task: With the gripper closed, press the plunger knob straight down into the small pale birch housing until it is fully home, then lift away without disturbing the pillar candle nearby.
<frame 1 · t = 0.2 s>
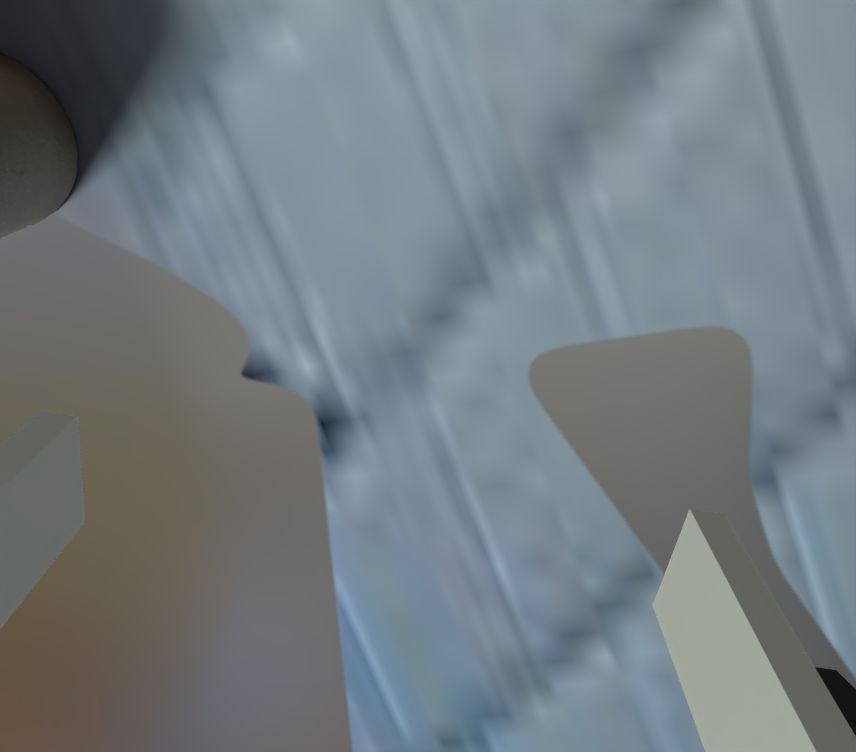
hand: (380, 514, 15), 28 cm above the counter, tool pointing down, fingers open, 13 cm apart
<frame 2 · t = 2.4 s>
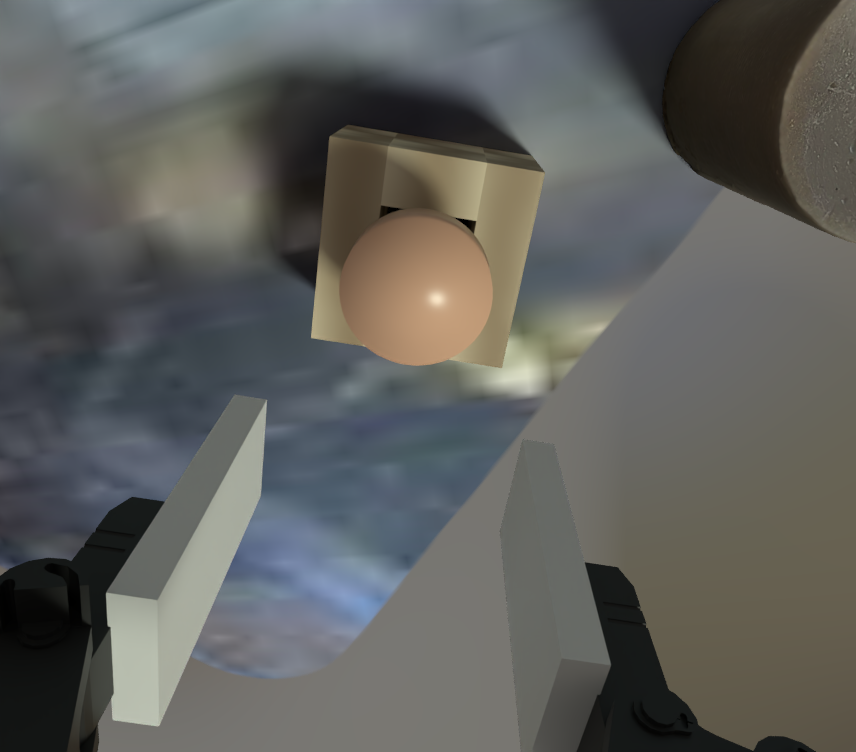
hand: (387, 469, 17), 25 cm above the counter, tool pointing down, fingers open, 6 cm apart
pillar candle: (758, 89, 36), on the counter
knob: (419, 269, 32), point 8 cm above the counter, slide at 0.0 cm
housing: (426, 231, 39), on the counter
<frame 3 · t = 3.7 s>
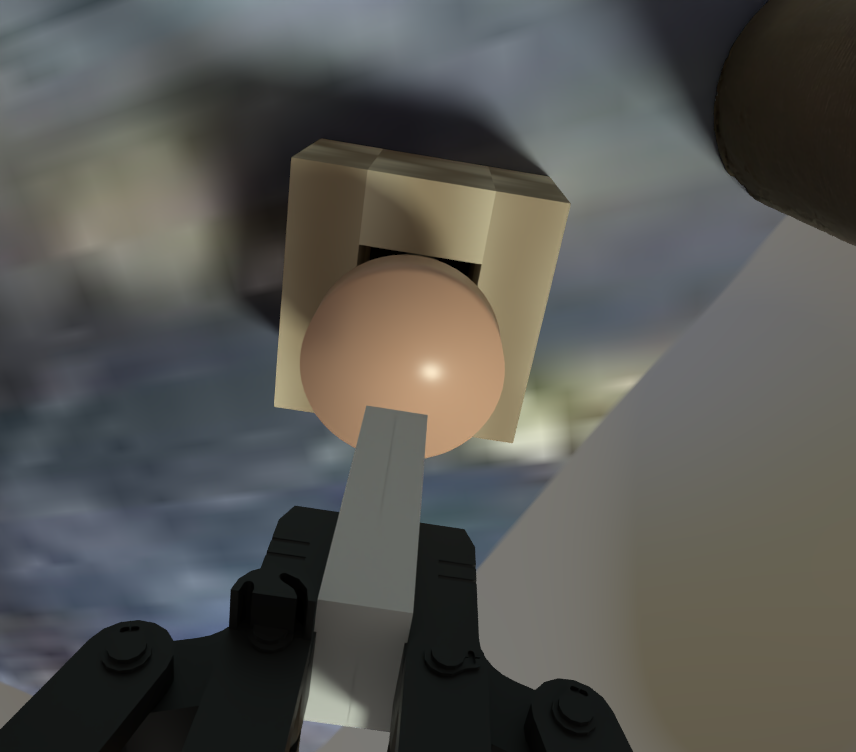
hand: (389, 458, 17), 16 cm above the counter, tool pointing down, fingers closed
pillar candle: (833, 94, 29), on the counter
knob: (408, 328, 25), point 8 cm above the counter, slide at 0.0 cm
housing: (418, 268, 32), on the counter
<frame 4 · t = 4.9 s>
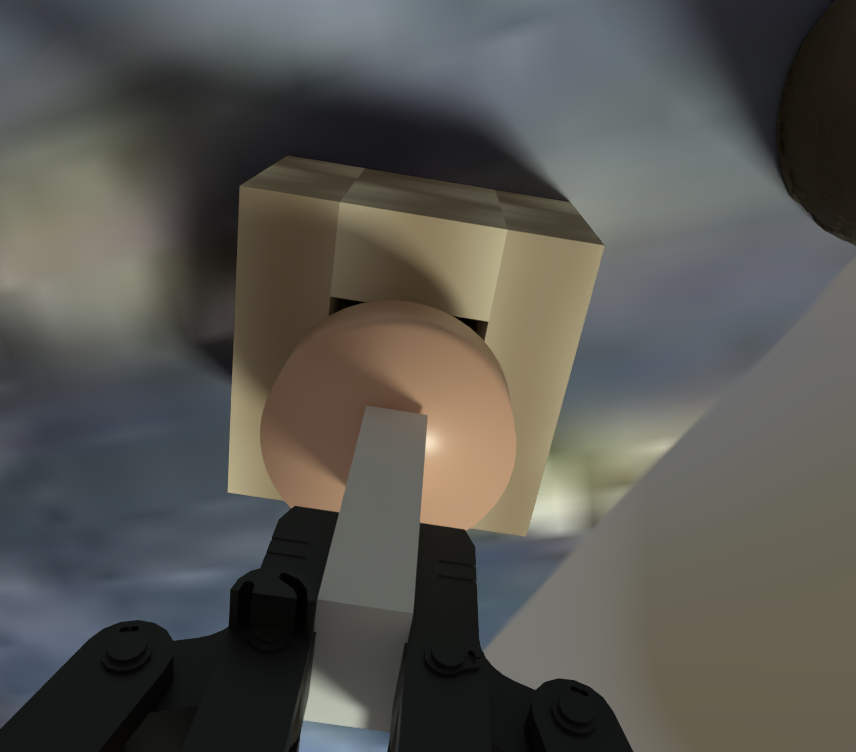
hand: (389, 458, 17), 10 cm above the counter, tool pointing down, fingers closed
knob: (398, 383, 21), point 6 cm above the counter, slide at 1.6 cm, touching gripper
housing: (409, 312, 26), on the counter
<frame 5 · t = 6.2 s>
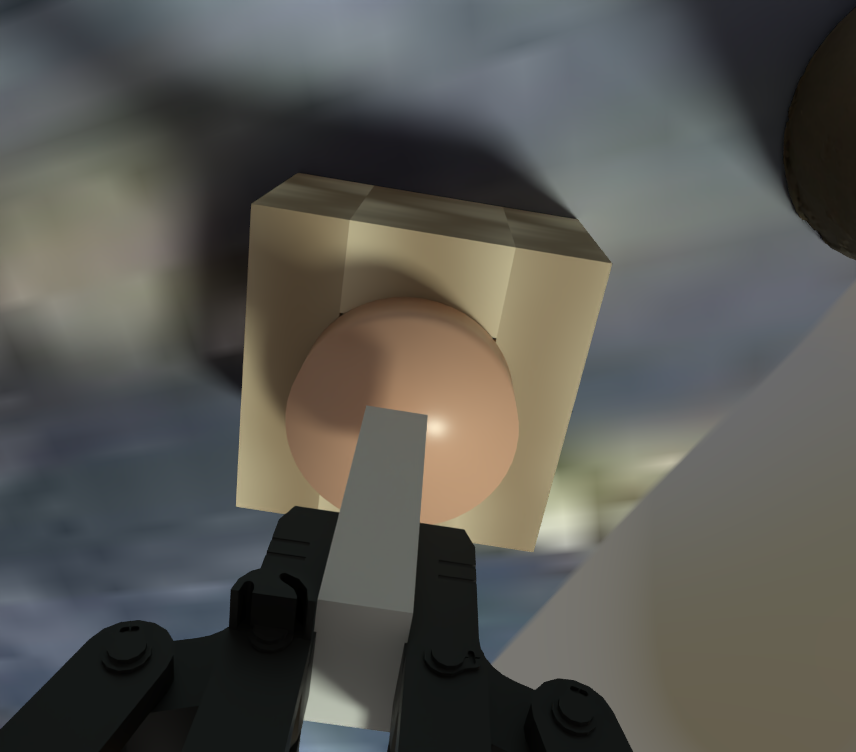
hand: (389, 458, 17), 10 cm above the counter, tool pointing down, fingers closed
knob: (410, 375, 22), point 4 cm above the counter, slide at 3.3 cm
housing: (417, 327, 26), on the counter
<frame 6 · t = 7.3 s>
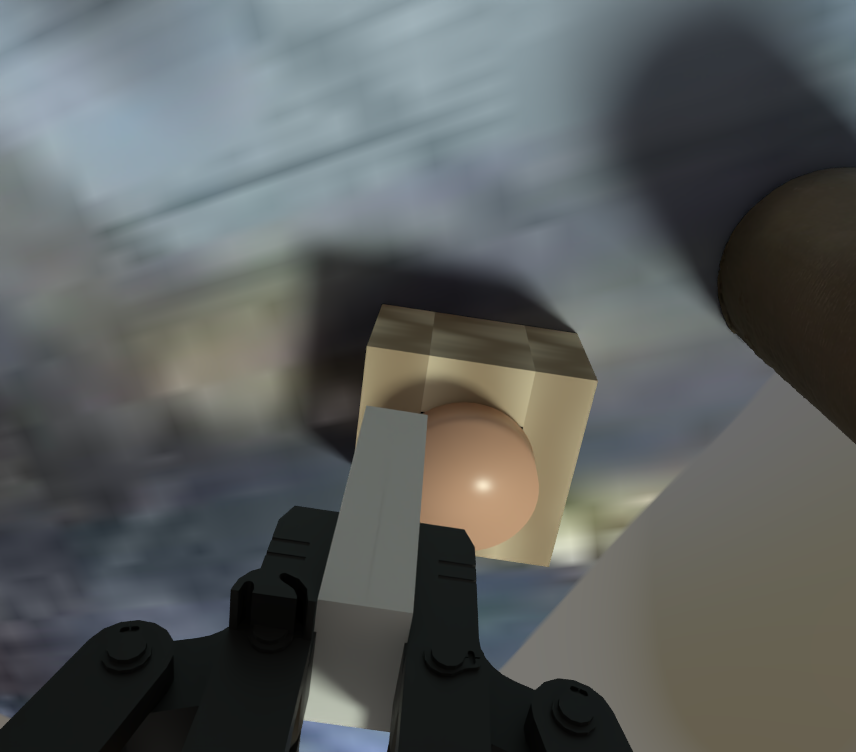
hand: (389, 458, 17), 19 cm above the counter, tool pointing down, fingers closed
pillar candle: (820, 268, 33), on the counter
knob: (463, 447, 33), point 4 cm above the counter, slide at 3.3 cm
housing: (463, 406, 37), on the counter
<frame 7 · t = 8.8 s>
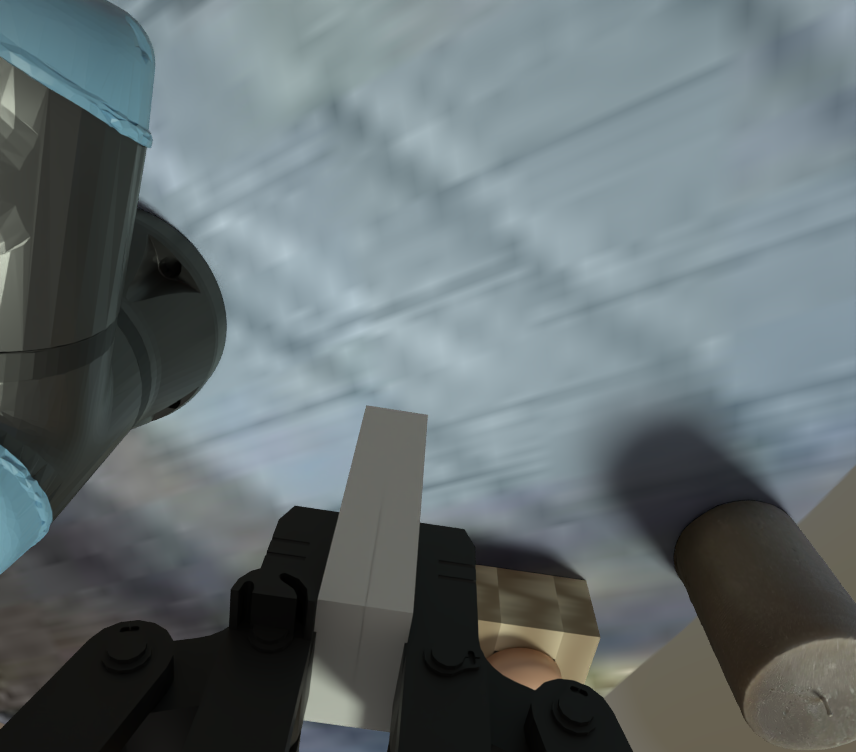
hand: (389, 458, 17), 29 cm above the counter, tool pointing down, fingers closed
pillar candle: (737, 548, 54), on the counter
knob: (516, 660, 54), point 4 cm above the counter, slide at 3.3 cm
housing: (512, 618, 58), on the counter
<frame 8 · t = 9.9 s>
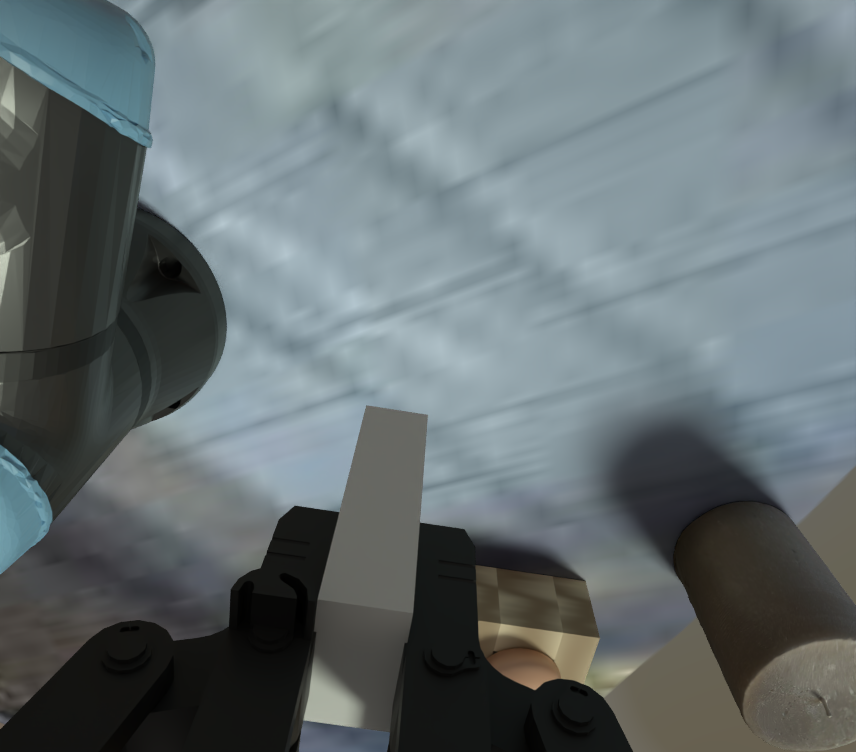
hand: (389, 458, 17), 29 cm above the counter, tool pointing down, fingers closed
pillar candle: (736, 549, 54), on the counter
knob: (516, 661, 54), point 4 cm above the counter, slide at 3.3 cm
housing: (511, 618, 58), on the counter
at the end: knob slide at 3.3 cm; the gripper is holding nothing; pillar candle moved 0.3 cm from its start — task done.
